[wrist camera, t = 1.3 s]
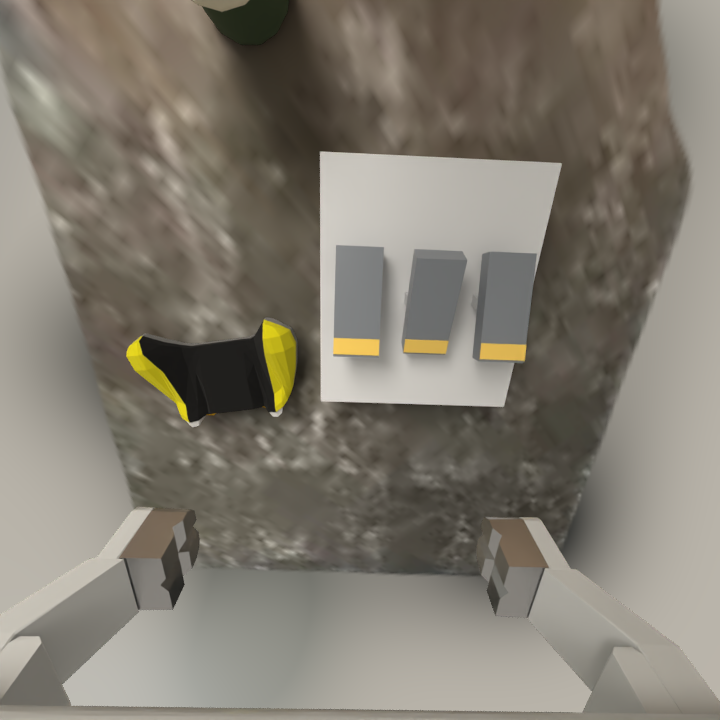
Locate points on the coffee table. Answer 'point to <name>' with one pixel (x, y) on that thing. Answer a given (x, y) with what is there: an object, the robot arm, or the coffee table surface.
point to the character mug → (246, 18)
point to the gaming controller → (221, 371)
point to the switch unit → (399, 238)
